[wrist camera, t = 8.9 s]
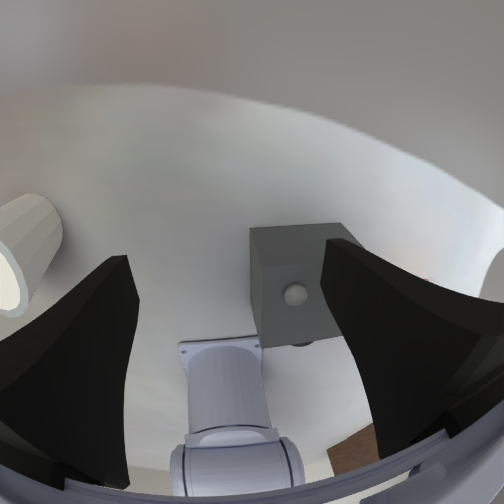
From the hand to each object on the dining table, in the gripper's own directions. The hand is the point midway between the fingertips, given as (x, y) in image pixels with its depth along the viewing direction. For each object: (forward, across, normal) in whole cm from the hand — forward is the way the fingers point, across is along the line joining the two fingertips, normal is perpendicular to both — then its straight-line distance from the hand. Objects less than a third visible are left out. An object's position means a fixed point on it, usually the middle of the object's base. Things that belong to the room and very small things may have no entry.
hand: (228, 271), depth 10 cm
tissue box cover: (+10, -35, +66) cm, 75 cm away
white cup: (+10, +15, +1) cm, 18 cm away
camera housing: (+9, -6, +6) cm, 13 cm away
